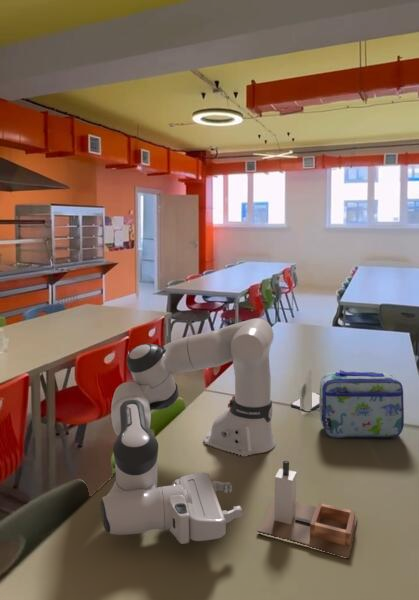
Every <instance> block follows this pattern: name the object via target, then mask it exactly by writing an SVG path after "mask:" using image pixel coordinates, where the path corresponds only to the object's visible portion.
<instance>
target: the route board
mask: <svg viewBox="0 0 419 600" xmlns="http://www.w3.org/2000/svg"><path fill="white" fill-rule="evenodd" d="M274 511H275V496H274V497H273V499H272V502H271V503H270V505H269V507H268V509H267V510H266V513H265V515H264V517H263V518H262V521H261V523H260V524H259V527H258V529H257V532H259V533H263V534H267V535H271V536H274V537H279V538H282V539H287V540H290V541H293V542H297V543H300V544H303V545H307V546H309V547H312V548H316V549H319V550H322V551H325V552H329V553H332V554H335V555H339V556H343V557H346V558H349V559H350V557H351V556H350V555H351V552H350V551H352V546H353V543H354V538H353V537H354V536H355V533H356V532H355V531H356V527H357V522H358V516H357V515H356V511H355V510H351V509H347V508H343V507H339V506H338V507H337V506H334V505H330V504H326V503H323V502H317V504H316V506H314V505H310V504H305V503H301V502H297V501H296V513H295V517H294V519H293V522H292V524H287V523H283V522H279V521H275V520H274ZM354 532H355V533H354ZM352 542H353V543H352ZM349 556H350V557H349Z"/></svg>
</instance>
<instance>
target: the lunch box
mask: <svg viewBox="0 0 419 600" xmlns="http://www.w3.org/2000/svg"><path fill="white" fill-rule="evenodd" d="M319 383H320V384H319V394H320V396H319V407H318V409H319V419H320V422H321V423H320V424H321V425H322V427H323V431H324V432H325V433H326V435H327V436H328V437H330V438H333V439H340V438H342V439H343V438H395V437H398V436H400V434H401V433H402V431H403V429H404V427H405V425H404V424H405V422H404V421H405V419H404V418H405V416H404V415H405V410H404V409H405V408H404V405H405V404H404V388H403V385H402V383H401V382H400V381H398V379H397V378H396V376H394V375H393V374H391V373H388V372H382V371H381V372H380V371H345V370H342V369H340V370H339V371H332V372H327V373H325V374H324V375H323V376H322V377H321V379H320V382H319Z"/></svg>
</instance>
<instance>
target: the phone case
mask: <svg viewBox="0 0 419 600" xmlns="http://www.w3.org/2000/svg"><path fill="white" fill-rule="evenodd" d="M319 396H320V393H317V392H313V391H312V408H311V409H310V410H313V411H314V410H317V408H318V409H319ZM290 407H292V408H294V409H298V410H300V398H298V399H296V400H295V401H292V402H291V403H290Z"/></svg>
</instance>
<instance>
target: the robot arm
mask: <svg viewBox="0 0 419 600" xmlns="http://www.w3.org/2000/svg"><path fill="white" fill-rule="evenodd" d="M273 341H274V331H273V327H272V326H271V324H270V323H269V322H268V321H267V320H266V319H263V318H260V317H259V318H258V317H256V318H251V319H247V320H244V321H240V322H237V323H234V324H230V325H227V326H224V327H221V328H218V329H215V330H210V331H206V332H202V333H201V332H200V333H198V334H192V335H188V336H184V337H182V338H181V337H180V338H178V339H175V340H172V341H170V342H168V343H166V344H165V345H161V344H155V343H154V344H153V343H142V344H139V345H137V346H135V347H133V348H132V349H130V351H129V353H128V354H127V356H126V364H127V369H128V371H130V373H131V377H132V379H133V381H125V382H122V383H120V384H119V385H118V386H117V387H116V388H115V391H114V393H113V397H112V400H111V406H110V407H111V408H110V415H111V425H112V427H113V428H112V429H113V430H114V434H116V435H117V437H116V440H115V441H114V443H113V447H112V451H113V459H114V466H115V468H114V469H115V471H114V472H115V481H114V482H113V485H112V487H111V489H110V491H109V492H108V493H107V494H106V495H105V496H103V497H102V498H101V501H100V511H101V512H100V513H101V518H102V519H101V520H102V524H103V528H104V530H105V531H106V532H107V533H108V534H111V535H117V536H124V535H125V536H126V535H127V536H128V535H137V534H145V533H146V532H149V531H151V530H159V531H166V530H169V532H170V533H171V534H172V535H173V536H174V537H175V538H176V540H177V542H178V543H179V544H181V545H182V544H183V545H185V544H188V543H190V539H191V540H192V541H194V542H203V541H211V540H212V541H213V540H217V539H220V538H222V537H224V536H225V535H226V533H227V531H226V530H227V529H226V528H227V526H226V524H228V523H230V522H232V521H233V520H234V519H236V518H242V517H243V516H244V515H243V514H244V512H243V508H242V507H241V505H237V506H233V507H232V509H231V510H228V511H227V510H222V507H221V505H220V502H219V499H218V497H217V492H224V494H228V493H232V492H233V486H232V484H231V482H222V481H218V480H211V477H210V474H209V473H207V472H205V471H200V472H195V473H191V474H190V473H189V474H185V475H183V476H180V477H179V478H176V479H175V480H174V481H172V483H171V485H164V486H158V456H159V455H158V454H159V443H158V440H157V438H156V437H155V435H154V434H153V433H152V432H151V431H150V428H151V421H152V420H151V419H152V415H151V414H152V413H151V411H159V410H165V409H168V408H170V407H171V406H173V405H174V403H176V401H177V400H178V399H179V388H178V384H177V383H176V381H175V379H174V374H176V373H185V372H186V373H187V372H193V371H199V370H206V369H210V368H215V367H219V366H223V365H225V364H227V363H230V362H232V366H233V370H234V395H232V397H231V399H230V400H229V402H228V403H227V408H228V409H227V410H226V411H224V412H223V413H221V414H219V415H218V416H217V417H216V418H215V419H214V421H213V423H212V426H211V429H209V430H208V431H207V432H206V434H205V435H204V438H203V443H204V442H205V443H204V445H206V444H208V445H207V446H209V445H210V446H209V447H212V446H213V447H212V448H216V449H218V450H221V451H224V452H228V453H230V452H231V454H233V453H235V454H234V455H236V454H238V455H237V456H240V455H241V456H240V457H248V455H249V456H252V455H256V454H257V455H258V454H262V453H266V452H269V451H271V450H272V449H274V448H275V447H276V441H275V437H274V433H273V427H272V425H273V424H272V418H273V400H272V399H271V398H272V397H271V396H272V395H271V393H272V391H271V390H272V386H271V385H272V379H271V378H272V377H271V368H270V366H271V365H270V349H271V346H272V344H273Z"/></svg>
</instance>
